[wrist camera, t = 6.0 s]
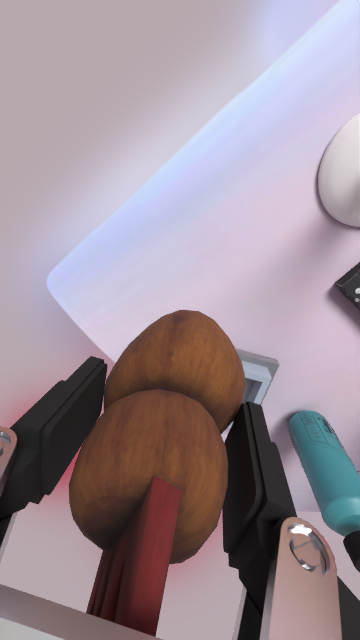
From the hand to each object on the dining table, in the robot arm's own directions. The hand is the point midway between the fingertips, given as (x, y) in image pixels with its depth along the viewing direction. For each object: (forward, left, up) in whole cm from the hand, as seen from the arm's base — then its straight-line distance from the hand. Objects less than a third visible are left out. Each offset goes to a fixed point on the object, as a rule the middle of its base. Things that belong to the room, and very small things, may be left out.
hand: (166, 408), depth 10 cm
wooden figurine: (0, 0, -7) cm, 7 cm away
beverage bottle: (-24, +19, -27) cm, 41 cm away
